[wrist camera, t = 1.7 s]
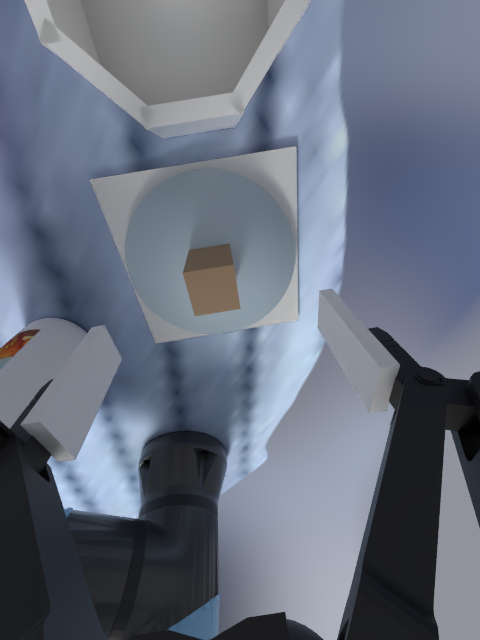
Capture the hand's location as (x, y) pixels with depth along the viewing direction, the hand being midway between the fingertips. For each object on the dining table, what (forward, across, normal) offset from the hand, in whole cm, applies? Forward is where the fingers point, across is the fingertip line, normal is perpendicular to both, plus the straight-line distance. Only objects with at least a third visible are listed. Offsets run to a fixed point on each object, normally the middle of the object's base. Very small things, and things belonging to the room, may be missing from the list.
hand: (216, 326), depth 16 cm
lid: (+13, 0, 0) cm, 13 cm away
